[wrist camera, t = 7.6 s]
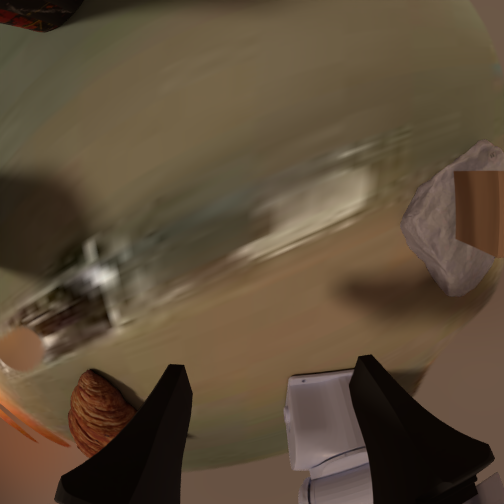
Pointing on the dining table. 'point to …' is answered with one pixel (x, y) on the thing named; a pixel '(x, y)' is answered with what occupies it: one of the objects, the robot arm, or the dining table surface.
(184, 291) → the dining table surface
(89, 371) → the pastry
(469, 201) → the walnut cube
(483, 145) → the stone block
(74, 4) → the deodorant
